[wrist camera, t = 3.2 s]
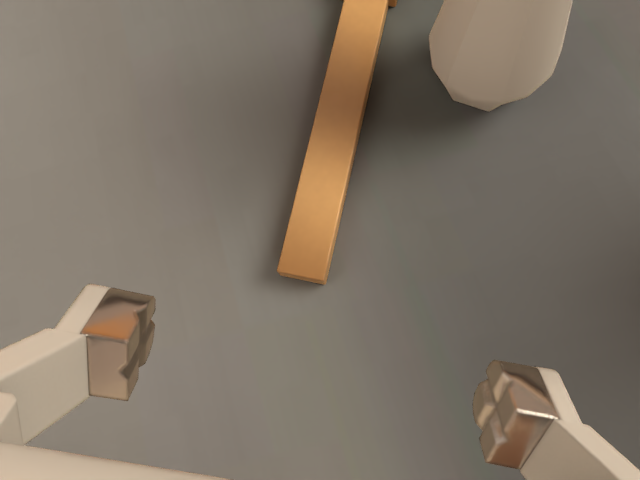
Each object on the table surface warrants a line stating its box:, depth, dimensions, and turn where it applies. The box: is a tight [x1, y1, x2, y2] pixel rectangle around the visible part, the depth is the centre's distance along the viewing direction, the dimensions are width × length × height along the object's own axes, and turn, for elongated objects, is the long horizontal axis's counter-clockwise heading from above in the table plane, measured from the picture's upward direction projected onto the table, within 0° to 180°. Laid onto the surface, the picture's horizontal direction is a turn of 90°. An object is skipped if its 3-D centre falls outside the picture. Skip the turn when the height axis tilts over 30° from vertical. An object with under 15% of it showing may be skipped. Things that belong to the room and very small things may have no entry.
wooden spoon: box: [277, 0, 397, 284], centre depth 26 cm, size 22×6×1 cm, turn 167°
